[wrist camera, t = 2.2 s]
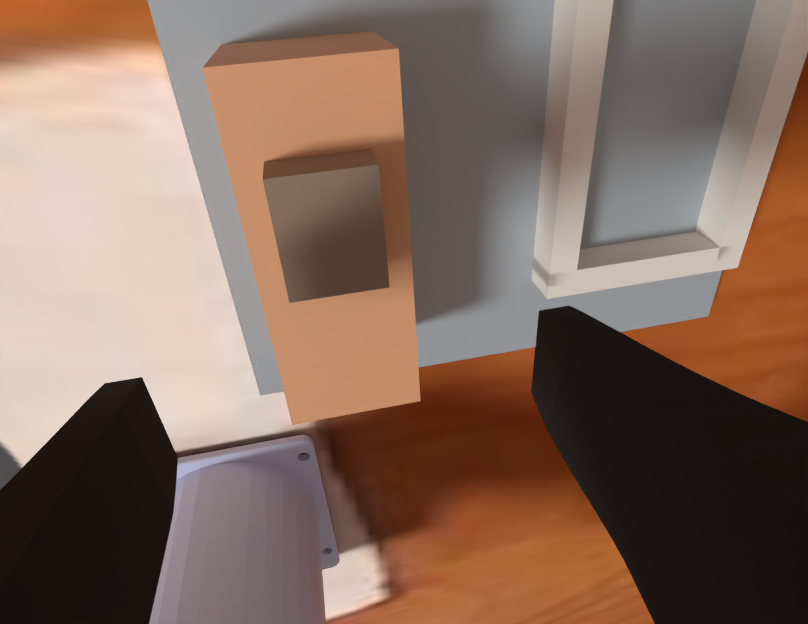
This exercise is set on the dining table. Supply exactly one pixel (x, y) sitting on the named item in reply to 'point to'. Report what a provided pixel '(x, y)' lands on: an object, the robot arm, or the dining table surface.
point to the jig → (534, 151)
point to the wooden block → (324, 213)
